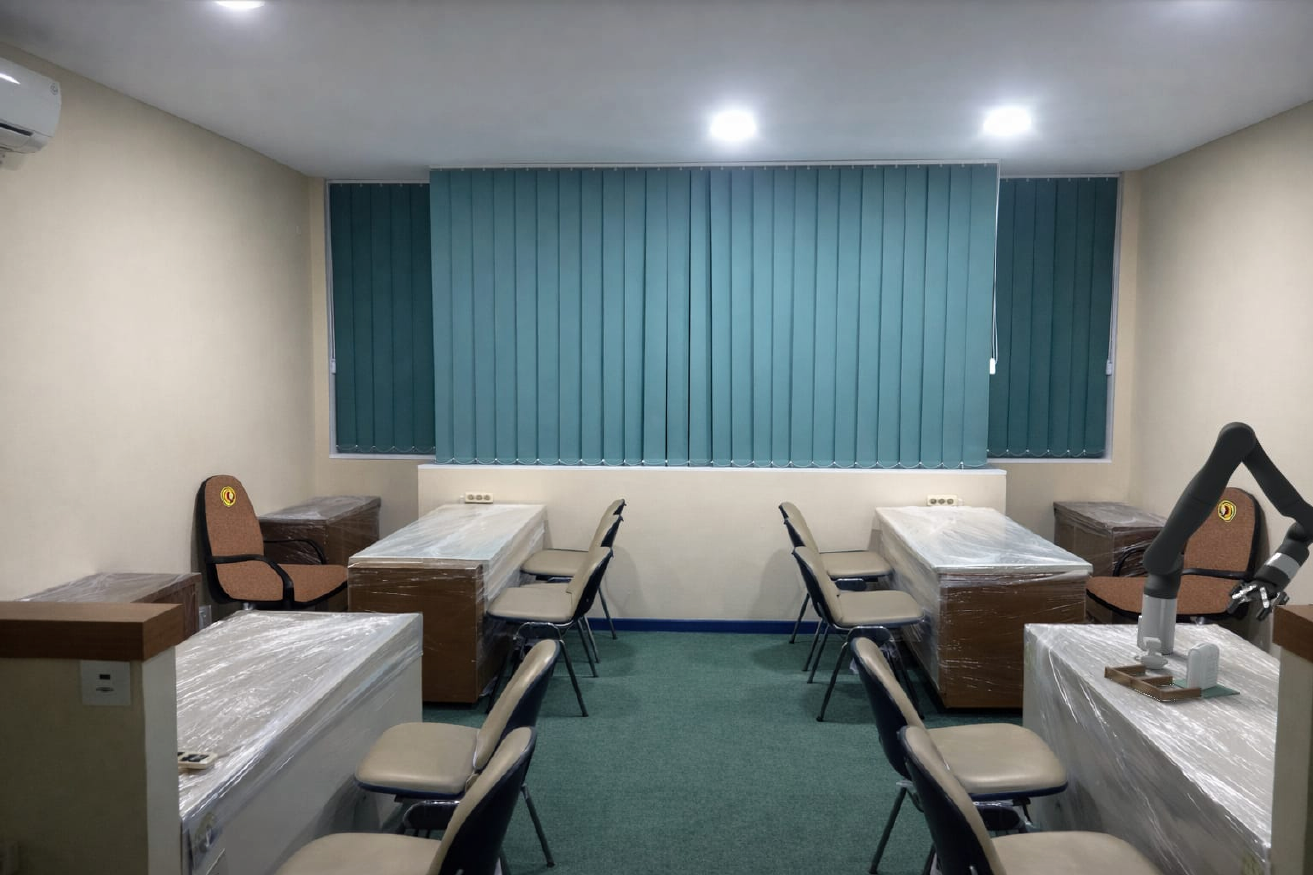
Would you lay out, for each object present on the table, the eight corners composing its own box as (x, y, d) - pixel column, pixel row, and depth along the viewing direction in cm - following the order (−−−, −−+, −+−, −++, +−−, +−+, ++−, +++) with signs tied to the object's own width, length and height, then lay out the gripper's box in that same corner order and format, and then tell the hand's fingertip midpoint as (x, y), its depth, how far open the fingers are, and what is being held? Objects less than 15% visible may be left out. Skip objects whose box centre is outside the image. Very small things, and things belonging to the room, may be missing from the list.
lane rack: (1104, 676, 251) (1105, 666, 251) (1142, 672, 255) (1143, 662, 255) (1160, 702, 233) (1161, 690, 233) (1201, 696, 237) (1201, 686, 237)
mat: (1167, 682, 248) (1167, 680, 248) (1200, 678, 252) (1200, 676, 252) (1205, 698, 237) (1205, 696, 237) (1239, 693, 240) (1239, 692, 240)
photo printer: (1203, 681, 248) (1206, 637, 247) (1219, 686, 245) (1222, 642, 243) (1182, 687, 243) (1186, 643, 242) (1199, 692, 239) (1202, 648, 238)
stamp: (1134, 668, 258) (1136, 640, 258) (1131, 661, 265) (1133, 633, 264) (1170, 673, 255) (1172, 644, 255) (1165, 665, 262) (1167, 637, 261)
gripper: (1246, 558, 254) (1212, 600, 252) (1295, 570, 241) (1260, 614, 238) (1259, 575, 256) (1225, 617, 254) (1308, 588, 243) (1273, 632, 240)
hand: (1242, 615), depth 246 cm, fingers open, 8 cm apart
